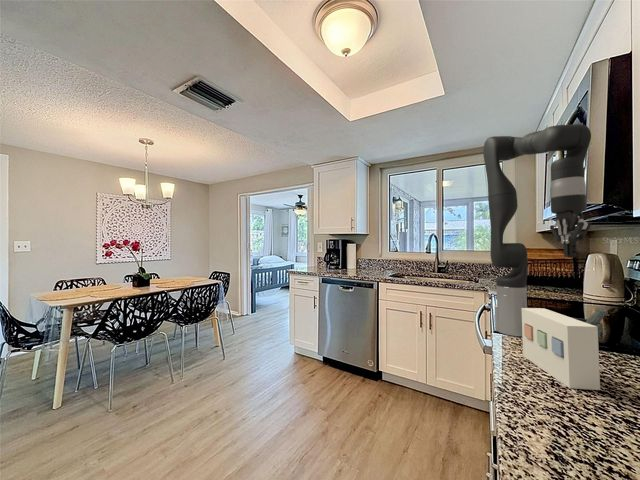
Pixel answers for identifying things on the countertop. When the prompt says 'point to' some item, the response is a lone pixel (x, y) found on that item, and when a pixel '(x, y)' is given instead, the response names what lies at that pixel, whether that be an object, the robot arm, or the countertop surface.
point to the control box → (578, 348)
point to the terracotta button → (528, 331)
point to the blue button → (557, 346)
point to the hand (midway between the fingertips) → (570, 257)
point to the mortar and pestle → (595, 319)
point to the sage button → (542, 338)
